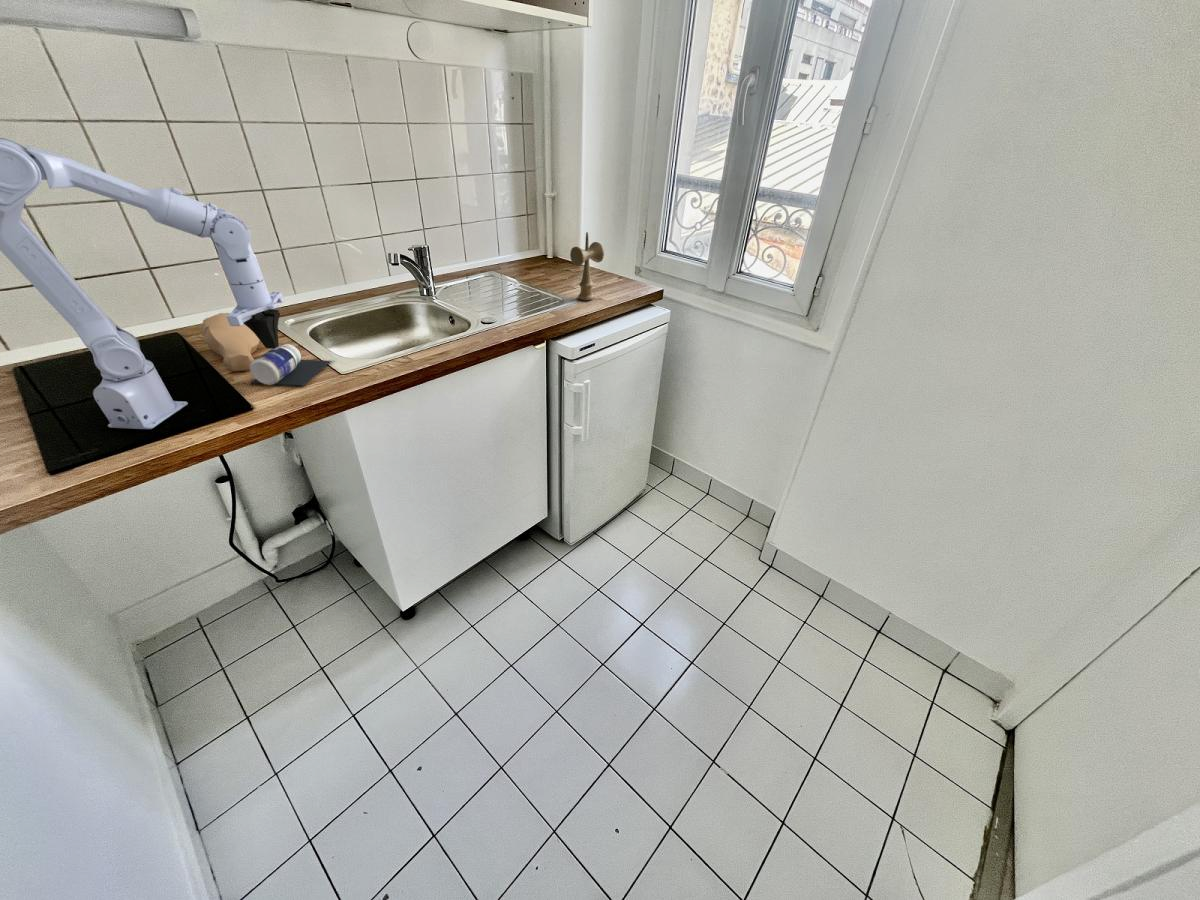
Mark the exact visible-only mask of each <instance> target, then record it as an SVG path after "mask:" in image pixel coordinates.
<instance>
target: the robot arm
mask: <svg viewBox="0 0 1200 900" xmlns="http://www.w3.org/2000/svg"><path fill="white" fill-rule="evenodd" d="M43 180H44V181H46V182H47V185H48V188H49V189H50V190H51V189H52V190H53V189H67V188H79V189H81V190H85V191H88V192H90V193H94V194H97V195H100V196H103V197H105V198H106V197H107V198H109V199H112V200H115V201H119V202H121V203H124V204H127V205H130V206H134V207H137V208H139V209H143V210H145V211H147V213H148V215H149V216H150V217H151V219H152V220H153V221H154V222H155V223H158V224H161V225H164V226H167V227H170V228H172V229H176V230H179V231H182V232H184V233H188V234H190V235H193V236H196V237H199V238H210V239H211V240H212V241H214V246H215V248H216V249H215V250H216V251H217V253H218V260H219V262H220V265H221V267H222V270H223V272H224V274H225V276H226V279H227V281H228V284H229V287H230V289H231V292H232V294H233V297H234V299H235V301H236V304H237V305H236V306H235V307H234V309H232V311H231V312H229V313H230V314H229V315H227V316H226V317H227V319H228V322H229V324H230V326H242V325H244V324H245V325H246V326H247V327H248V328H250V329H251V330H252V331H253V332H254V334H255V335H256V336H257V337H258V338H259V340H260V341H259V342H261V344H262V345H263V347H264V348H265V349H269V350H271V349H275V348H277V347H280V346H279V344H280V343H279V332H278V331H279V330H278V329H279V320H280V317H281V312H280V310H278V309H276V308H278V307H279V304H282V303H284V302H285V299H284V296H283V294H282V292H281V291H271V292H269V290H268V286H267V284H266V281H265V278H264V275H263V273H262V270H261V267H260V265H259V261H258V258H257V256H256V254H255V253H254V251H253V246H252V244H251V240H252V232H251V230H250V229H249V228H248V226H247V225H246V223H244V221H243V220H242V219H240V218H239V217H237V216H236V215H235V214H233V213H231V212H229V211H226V210H225V209H224V208H218V206H217V205H216V204H214V203H212V202H209V203H208V204H207V203H204V202H202V201H199V200H197V199H194V198H192V197H190V196H187V195H184V194H183V191H182V190H181V189H178V188H176V187H173V186H171V187H170V189H168V188H166V187H163V186H160V187H157V188H154V189H146V188H144V187H141V186H138V185H137V184H134V183H131V182H129V181H127V180H124V179H121V178H119V177H116V176H114V175H112V174H109V173H107V172H104V171H102V170H100V169H97V168H94V167H92V166H90V165H87V164H85V163H83V162H80V161H77V160H75V159H72V158H70V157H68V156H64V155H63V154H58V153H55V152H52V151H48V150H46V149H42V148H38V147H34V146H31V145H27V146H24V145H22V144H21V143H19V142H17V141H15V140H12V139H9V138H6V137H1V136H0V252H1V253H2V254H3V255H4V256H5V257H6V258H7V259H8V260H9V262H10V263H12V265H13V266H14V267H15V268H16V269H17V270H18V271H19V272H20V273H21V274H22V276H24V277H25V279H26V280H27V281H28V282H29V283H30V284H31V285H32V286H33V287H34V288H35V289H36V290H37V291H38V292H39V293H40V295H42V297H43V298H45V300H46V301H47V302H48V303H49V304H50V305H51V306H52V307H53V308H54V309H55V310H56V312H57V313H59V315H60V316H61V317H62V318H63V319H64V320H65V321H66V322H67V323H68V324H69V325H70V326H71V327H72V328H73V330H74V331H75V332H76V334H77V335H78V337H79V338H80V339H81V341H82V343H83V344H84V346H85V347H86V348H87V349H88V350H89V351H90V353H91V354H92V357H93V363H94V365H95V367H96V368H97V369H98V370H99V371H100V376H101V377H102V380H101V382H100V383H99V384H98V385H97V386H96V387H95V388H94V389H93V390H92V395H93V398H94V401H95V402H96V403H97V405H98V407H99V408H100V410H101V411H102V413H103V414H104V415H105V417H106V419H107V420H108V422H109V423H108V424H107V427H108V428H110V429H111V428H112V429H132V430H152V429H154V428H155V427H157V426H159V425H160V424H161V423H162V422H164V421H166V420H168V419H169V418H170V417H172V416H173V415H175V414H176V413H178V412H179V411H181V410H182V409H183V408H185V407H186V406H188V405H189V403H188V402H187V401H181V400H180V401H179V400H178V401H177V400H173V398H172V396H171V394H170V392H169V391H168V389H167V387H166V384H165V383H164V382H163V379H162V378H161V376H160V375H159V372H158V370H157V369H156V367H155V365H154V363H153V362H152V361H151V360H149V359H146V357H145V355H144V354H143V352H142V350H141V345H140V342H139V340H138V339H137V337H136V336H135V335H134V334H132V333H131V332H130V331H127V330H125V329H124V328H121V327H120V326H119V325H118V324H117V323H116V322H115V321H114V320H113V319H112V318H111V317H110V316H109V315H107V314H106V313H105V312H104V310H102V308H101V307H100V306H99V305H98V304H97V303H96V302H95V301H94V299H93V298H91V296H90V295H89V294H88V293H87V291H86V290H85V289H84V288H83V287H82V285H80V283H79V282H78V281H77V280H76V279H75V278H74V277H73V275H72V274H71V273H70V272H69V270H68V269H66V267H65V266H64V265H63V264H62V263H61V262H60V261H59V259H58V258H57V257H56V255H54V253H52V251H51V250H50V249H49V248H48V247H47V245H46V244H45V243H44V242H43V241H42V240H41V239H40V237H38V235H37V234H36V233H35V232H34V231H33V229H31V227H30V226H29V225H28V224H27V223H26V222H25V220H24V219H23V218H22V213H23V210H24V207H25V204H26V200H27V199H28V198H29V197H30V196H31V195H32V194H33V193H34V192H35V191H36V190H37V189H38V188H39V187H40V185H41V183H42V181H43Z"/></svg>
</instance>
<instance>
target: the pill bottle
mask: <svg viewBox="0 0 1200 900" xmlns="http://www.w3.org/2000/svg"><path fill="white" fill-rule="evenodd" d="M301 360H302V353H301V352H300V350H299V349H298V348H297V347H296V346H294V345H293V344H290V343H283V344H282V345H280V346H278V347H277V348H275V349H269V350H268V351H266V352H265V353H264V354H262V355H260V356H258V357H257V358H255V359H254V361H253V362H252V363H251V365H250V370H249V371H250V373H251V375H252V377H253V378H254V380H255V379H256V380H258V381H259V382H261V383H263V384H267V385H266V386H273V385H272V384H275V383H277V382H278V381H279V380H281V379H282V378H283V377H285V376H286V375H287V374H289V373H290V372H291V371H293V370H294V369H295V368H296V366H297V364H298V363H299V362H300V361H301Z"/></svg>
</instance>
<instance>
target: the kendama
mask: <svg viewBox="0 0 1200 900" xmlns="http://www.w3.org/2000/svg"><path fill="white" fill-rule="evenodd" d="M604 255H605V251H604V247H603V245H602V244H601V243H600V242H598V241H594V242H591V243H590V245H589V232H588V231H587V232H585V247H584V249H583V248H581V247H579V246H573V247H572V248H571V249H570V262H571V263H572V265H574V266H575V267H581V266H583V270H582V271H583V272H582V277H581V281H580V282H579V283H578V285H579V287H580V292H579V294H578V295H577V298H578V299H579V300H582V301H593V300H594V299H595V297H596V296H595V295H594V292H593V287H594V286H595V284H594V282H593V280H592V278H591V277H592V276H591V270H590V269H591V268H590V260H591V261H592V262H595V263H601V262H603V260H604V257H605V256H604Z"/></svg>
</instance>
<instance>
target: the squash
mask: <svg viewBox="0 0 1200 900" xmlns="http://www.w3.org/2000/svg"><path fill="white" fill-rule="evenodd" d="M230 313H231V312H220V313H217V314H214V315H212V316H209V317H206V318H205V319H203V320H202V327H201V331H200V333H201V336H202V337H203V341H204V342H205V344H206V345H207V347H208V348H209V349H210V351H212V352H214V353H215V354H217V355H219V356H221V357H223V359H222V362H223V364H224V366H225V367H226V368H227V369H228V370H231V371H234V372H241V371H250V365H251V363H252V362H253V361H254V360H255V359H254V357H253V355H252V354H253V353H254V352H256V351H257V348H258V345H259V344H260V342H261V341H260V340H259V338H258V337H257V336H256V335H255V334H254V332H253V331H252V330H251V329H250V328H248V327H247V326H246V325H245V324H244V325H242V326H230V324H229V322H228V319H227V317H226V316H227V315H229V314H230Z"/></svg>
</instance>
